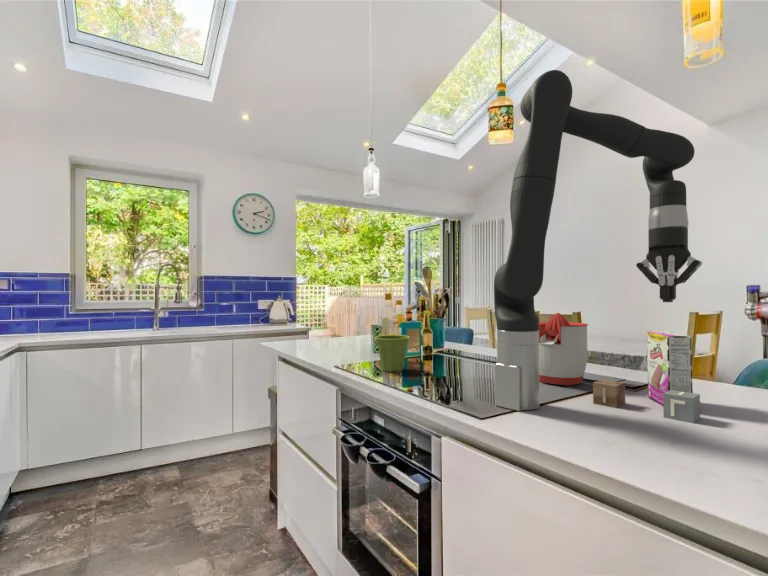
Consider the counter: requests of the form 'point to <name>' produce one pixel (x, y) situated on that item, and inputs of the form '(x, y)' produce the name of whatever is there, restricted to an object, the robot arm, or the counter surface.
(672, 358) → the candy bar box
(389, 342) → the plant pot
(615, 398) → the walnut digit cube
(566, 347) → the citrus juicer
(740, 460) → the counter surface
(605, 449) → the counter surface
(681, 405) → the slate digit cube
